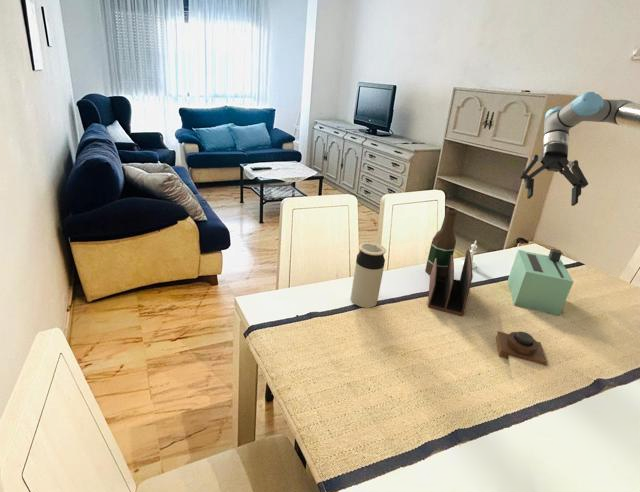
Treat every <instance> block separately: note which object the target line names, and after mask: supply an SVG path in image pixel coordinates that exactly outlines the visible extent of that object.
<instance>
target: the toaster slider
mask: <svg viewBox="0 0 640 492" xmlns="http://www.w3.org/2000/svg"><path fill="white" fill-rule="evenodd" d="M562 255H563V253H562V251H561V249H556V248H550V251H549V254H548V255H547V256H548V257H549V259H550V260H552V261H557V262H559V260H560V259H561V257H562Z"/></svg>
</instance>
